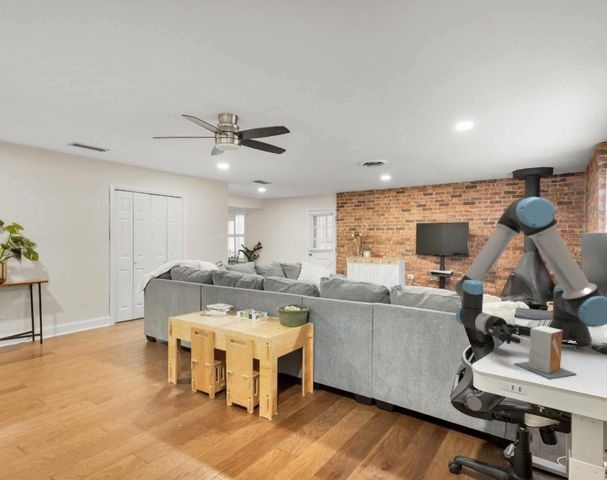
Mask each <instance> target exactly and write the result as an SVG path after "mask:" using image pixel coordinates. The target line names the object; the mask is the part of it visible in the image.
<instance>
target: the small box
mask: <svg viewBox="0 0 607 480" xmlns="http://www.w3.org/2000/svg"><path fill="white" fill-rule="evenodd" d="M531 328H532V329H531V331H530V336H529V339H530V340H532V341H531V348H530V349H529V354H528V362H529V367H530V368H533V369H536V370H539V371H542V372H546V373H551V372H554V371H556V370H559V369H560V368H561V360H562V331H563V330H559V329H555V328H551V327H549V326H547V325H546V326H545V325H540V326H535V327H531Z"/></svg>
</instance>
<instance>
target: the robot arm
mask: <svg viewBox="0 0 607 480" xmlns="http://www.w3.org/2000/svg"><path fill="white" fill-rule="evenodd" d="M555 215H556V209H555V207H554V205H553V204H552V202H551V201H549V200H548V199H546V198H543V197H538V196H529V197H525V198H522V199H517V200H515V201H513V202H512V203H510V204H509V205H508V206H507V207H506V209H505V210H504V211H503V213H502V214H501V216H500V218H499V219H498V221H497V222H496V228H495V229H494V231H493V233H492V234H491V236H490V237H489V238H488V240H487V242H486V243H485V244H484V246H483V247H482V249H480V251H479V253H478V254H477V255H476V257H475V259H474V260H473V262H472V264H470V266H469V268H468V269H467V270H466V272H465V274H464V275H463V276H462V278H461V279H459V280H458V281H456V282H455V285H454V292H455V293H456V294H457V295H458V296H459V297H460V298H462V306H461V307H459V308H458V309H457V311H456V313H455V319H456V322H457V323H458V324H459V325H462V326H464V327H466V328H469V329H473V330H475V331H479V332H481V333H483V335H489V336H492V337H494V338H496V339H498V340H499V341H501V342H504V343H505V342H506V344H508V345H511V343H512V344H515V345H518V346H521V347H524V348H526V349H529V350H530V348H531V341H532V340H530V338H526V337H525V336H527V337H530V331H531V329H532V328H533V327H530V326H526V325H525V326H524V325H520V324H517V323H514V324H513V323H512V324H511V323H507V321H506V320H505V319H504V317H499V316H497V315H494V314H489V313H487V312H483V303H484V291H485V290H484V280H485V278H486V277H487V275H488V274H489V273H490V272H491V270H492V268H493V267H494V266H495V264H496V263H497V261H498V260H499V258H500V257H502V254H503V253H504V251H505V250H506V249H507V247H508V246H509V244H510V243H511V241H512V240H513V239H514V237H517V236H519V235H520V233H521V232H522V233H523V235H524V236H525V237H527V238H530V239H532V241H533V243H534V244H535V246H536V248H537V249H538V251H539V253H540V254H541V256H542V257H543V259H544V261H545V262H546V264H547V265H548V268H549V269H550V270H551V272H552V274H553V275H554V278H555V280H557V282H558V284H559V285H556V286H554V288H553V292H552V294H553V295H552V296H553V299H552V320H551V322H550V324H549V325H548V327H551V328H555V329H559V330H563V331H562V339H563V340H572V341H576V343H577V345H576V346H590V345H592V342H593V341H592V340H593V339H592V336H591V332H590V330H589V326H591V327H603V326H605V325H607V297H606V296H605V295H603V294H602V292H601V291H600V289H599V287H598V286H597V285H596V284H595V283H591V282H589V280H588V279H587V277H586V276H585V274H584V272H583V271H582V269H581V267H580V266H579V264H578V262H577V261H576V259H575V257H574V256H573V254H572V253H571V251H570V249H569V248H568V246H567V244H566V242H564V240H563V238H562V237H561V235H560V233H559V232H558V230H557V225H558V221H557V219H556V217H555ZM463 307H464V308H463ZM523 336H524V337H523Z"/></svg>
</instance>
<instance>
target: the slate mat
mask: <svg viewBox="0 0 607 480" xmlns="http://www.w3.org/2000/svg"><path fill="white" fill-rule="evenodd" d="M514 365H515V366H517V367H519V368H521V369H524V370H526V371H529V372H531V373H534V374H536V375H538V376H540V375H541V377H542V378H545V377H546V379H547V378H548V380H554V379H560V378H566V377H572V376H577V373H575V372H573V371H570V370H567V369H565V368H562V367H560V369H559V370H556V371H554V372H551V373H546V372H542V371H539V370H536V369H533V368H530V367H529V361H523V362H522V361H521V362H515V363H514ZM553 378H554V379H553Z"/></svg>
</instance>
